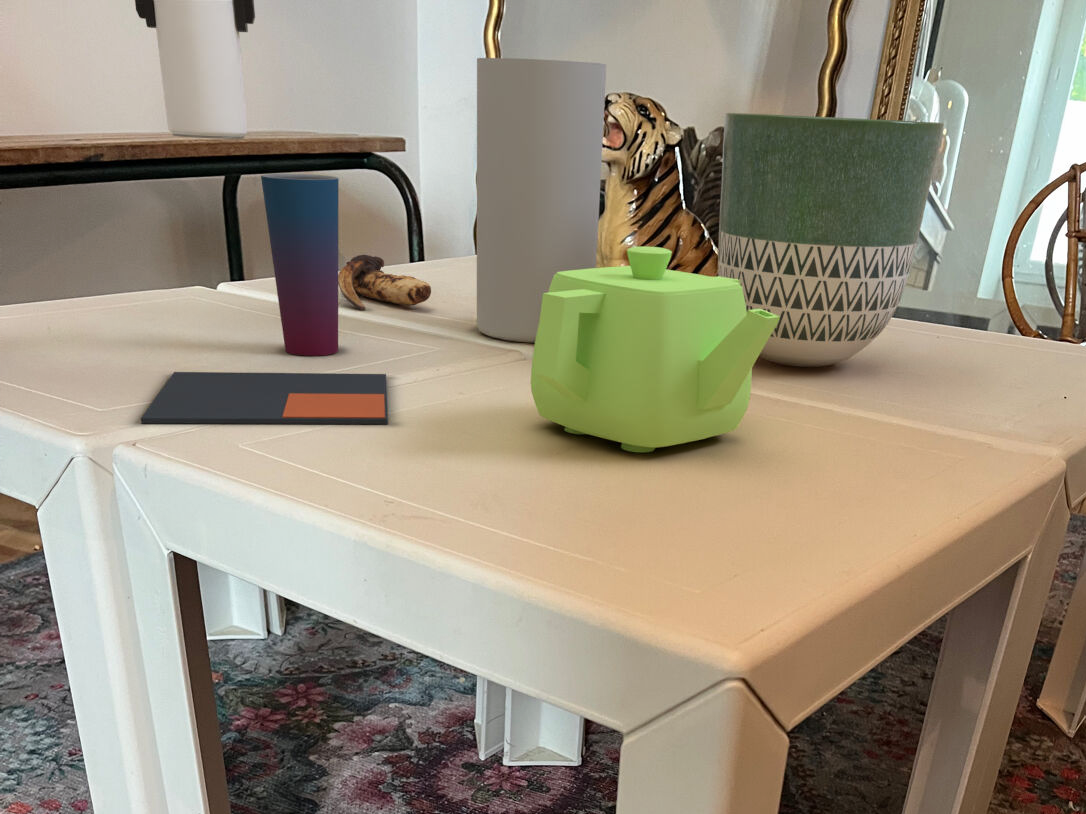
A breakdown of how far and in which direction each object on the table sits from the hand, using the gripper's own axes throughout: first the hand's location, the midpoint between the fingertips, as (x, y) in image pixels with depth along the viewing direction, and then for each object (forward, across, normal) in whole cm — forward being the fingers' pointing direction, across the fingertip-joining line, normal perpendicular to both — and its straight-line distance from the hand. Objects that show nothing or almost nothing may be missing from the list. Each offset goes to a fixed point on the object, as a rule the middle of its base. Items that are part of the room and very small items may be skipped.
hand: (197, 28), depth 91 cm
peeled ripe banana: (+26, -14, -33) cm, 44 cm away
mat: (+26, -5, +16) cm, 31 cm away
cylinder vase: (+26, -30, -14) cm, 42 cm away
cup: (+26, -7, -4) cm, 27 cm away
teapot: (+26, -34, +29) cm, 51 cm away
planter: (+26, -55, 0) cm, 61 cm away
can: (+8, 0, 0) cm, 8 cm away
